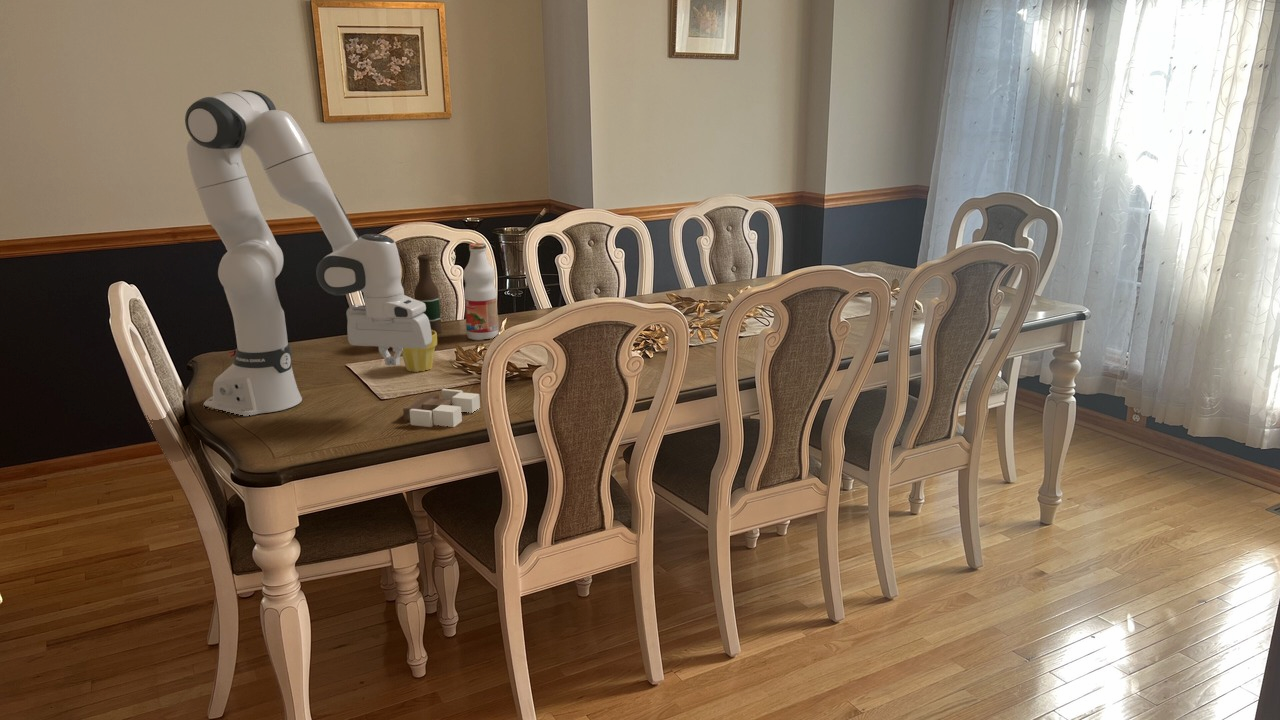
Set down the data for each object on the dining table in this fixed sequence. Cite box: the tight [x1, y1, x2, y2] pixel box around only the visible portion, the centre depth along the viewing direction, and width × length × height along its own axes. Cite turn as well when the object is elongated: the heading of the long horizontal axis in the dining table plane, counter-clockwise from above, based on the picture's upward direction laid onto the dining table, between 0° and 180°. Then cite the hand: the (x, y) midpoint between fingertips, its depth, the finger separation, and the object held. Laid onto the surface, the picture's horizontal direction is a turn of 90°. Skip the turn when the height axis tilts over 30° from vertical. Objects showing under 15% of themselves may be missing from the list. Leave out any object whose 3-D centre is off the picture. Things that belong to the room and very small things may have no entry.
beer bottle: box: [414, 254, 442, 335], centre depth 281 cm, size 8×8×24 cm
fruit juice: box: [463, 242, 499, 341], centre depth 275 cm, size 9×9×28 cm
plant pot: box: [401, 330, 438, 373], centre depth 247 cm, size 10×10×10 cm
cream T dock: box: [409, 388, 481, 428], centre depth 213 cm, size 10×16×4 cm, turn 163°
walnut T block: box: [402, 392, 452, 422], centre depth 214 cm, size 8×11×3 cm
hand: (392, 364), depth 214 cm, fingers closed
